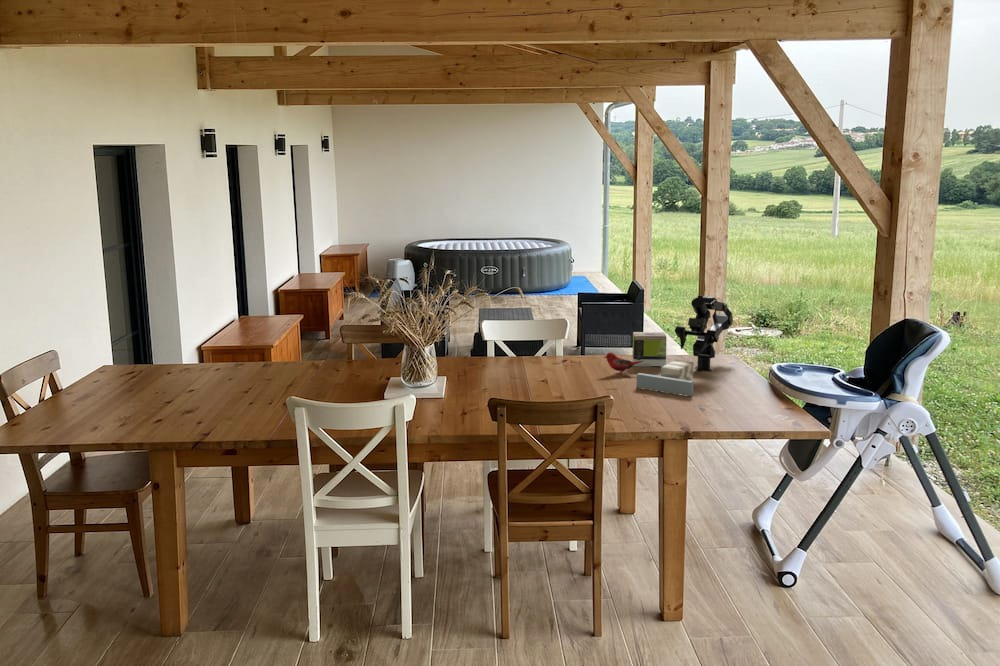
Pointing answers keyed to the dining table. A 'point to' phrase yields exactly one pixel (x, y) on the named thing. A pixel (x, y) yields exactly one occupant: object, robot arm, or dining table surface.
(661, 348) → the tea box
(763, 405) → the dining table surface
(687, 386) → the board
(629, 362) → the decorative bird figurine
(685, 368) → the block
